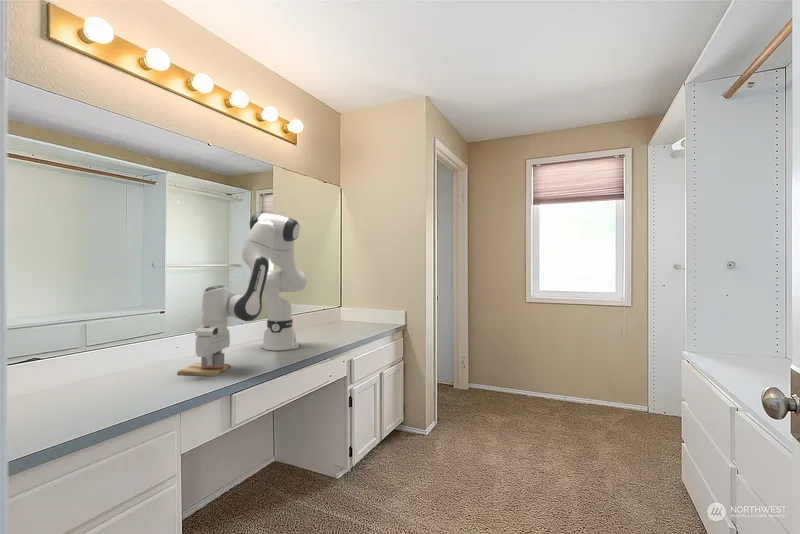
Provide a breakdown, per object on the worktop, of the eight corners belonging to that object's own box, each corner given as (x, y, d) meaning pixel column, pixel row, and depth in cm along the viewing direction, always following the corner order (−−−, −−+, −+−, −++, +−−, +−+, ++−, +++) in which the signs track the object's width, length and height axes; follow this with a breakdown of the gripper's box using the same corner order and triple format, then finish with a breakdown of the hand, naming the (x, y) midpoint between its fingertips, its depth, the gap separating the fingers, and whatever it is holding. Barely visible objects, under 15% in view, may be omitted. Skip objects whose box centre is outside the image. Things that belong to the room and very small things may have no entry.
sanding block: (206, 365, 159) (206, 352, 159) (224, 365, 159) (224, 353, 159) (201, 368, 155) (201, 354, 155) (219, 368, 155) (219, 355, 155)
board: (195, 366, 164) (195, 363, 164) (230, 367, 163) (230, 364, 163) (177, 374, 151) (177, 371, 151) (214, 375, 150) (214, 372, 150)
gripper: (219, 323, 167) (218, 357, 168) (192, 331, 147) (191, 369, 147) (234, 324, 167) (233, 357, 167) (209, 332, 147) (208, 370, 147)
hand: (213, 363), depth 157 cm, fingers closed on sanding block, 4 cm apart
